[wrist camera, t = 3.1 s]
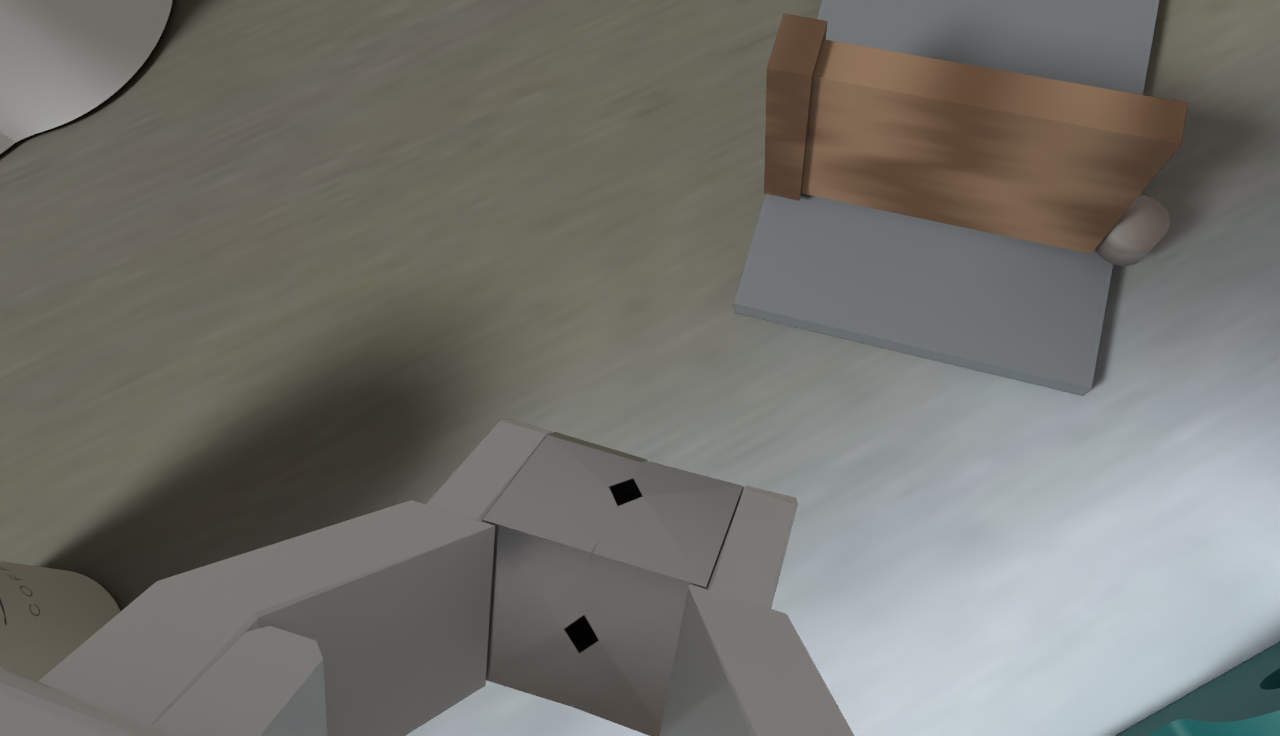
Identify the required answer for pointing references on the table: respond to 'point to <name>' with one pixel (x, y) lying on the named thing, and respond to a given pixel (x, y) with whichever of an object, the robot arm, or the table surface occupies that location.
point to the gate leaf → (967, 144)
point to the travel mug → (47, 616)
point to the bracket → (1224, 704)
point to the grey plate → (942, 253)
